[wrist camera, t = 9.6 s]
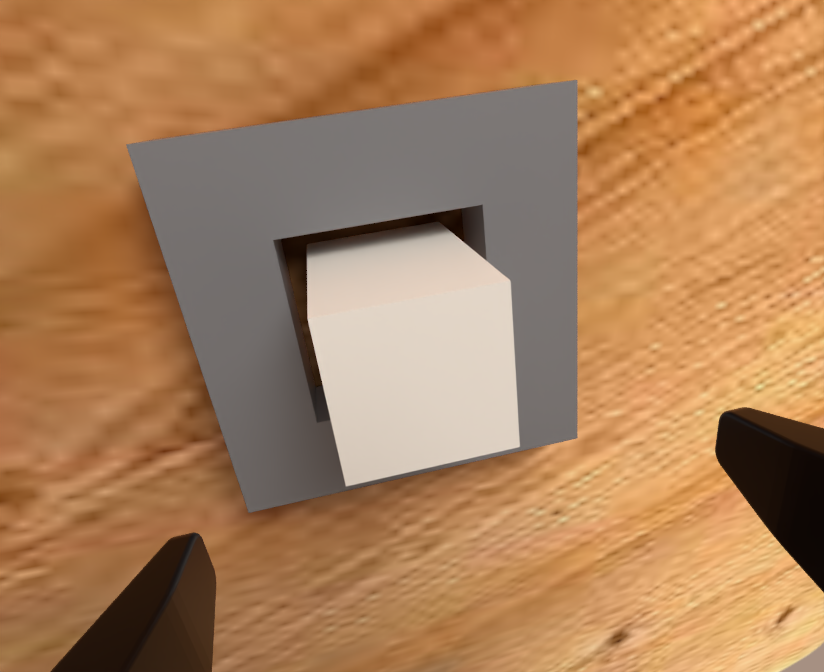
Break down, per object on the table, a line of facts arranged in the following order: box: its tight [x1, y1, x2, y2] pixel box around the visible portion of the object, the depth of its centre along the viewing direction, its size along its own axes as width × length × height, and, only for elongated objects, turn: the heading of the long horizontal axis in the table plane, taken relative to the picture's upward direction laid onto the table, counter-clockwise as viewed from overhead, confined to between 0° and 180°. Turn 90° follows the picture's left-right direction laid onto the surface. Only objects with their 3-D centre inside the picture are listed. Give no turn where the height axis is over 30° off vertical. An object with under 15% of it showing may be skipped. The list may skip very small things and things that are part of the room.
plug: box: [307, 221, 520, 486], centre depth 15 cm, size 4×4×7 cm
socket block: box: [127, 80, 577, 513], centre depth 17 cm, size 12×12×2 cm
